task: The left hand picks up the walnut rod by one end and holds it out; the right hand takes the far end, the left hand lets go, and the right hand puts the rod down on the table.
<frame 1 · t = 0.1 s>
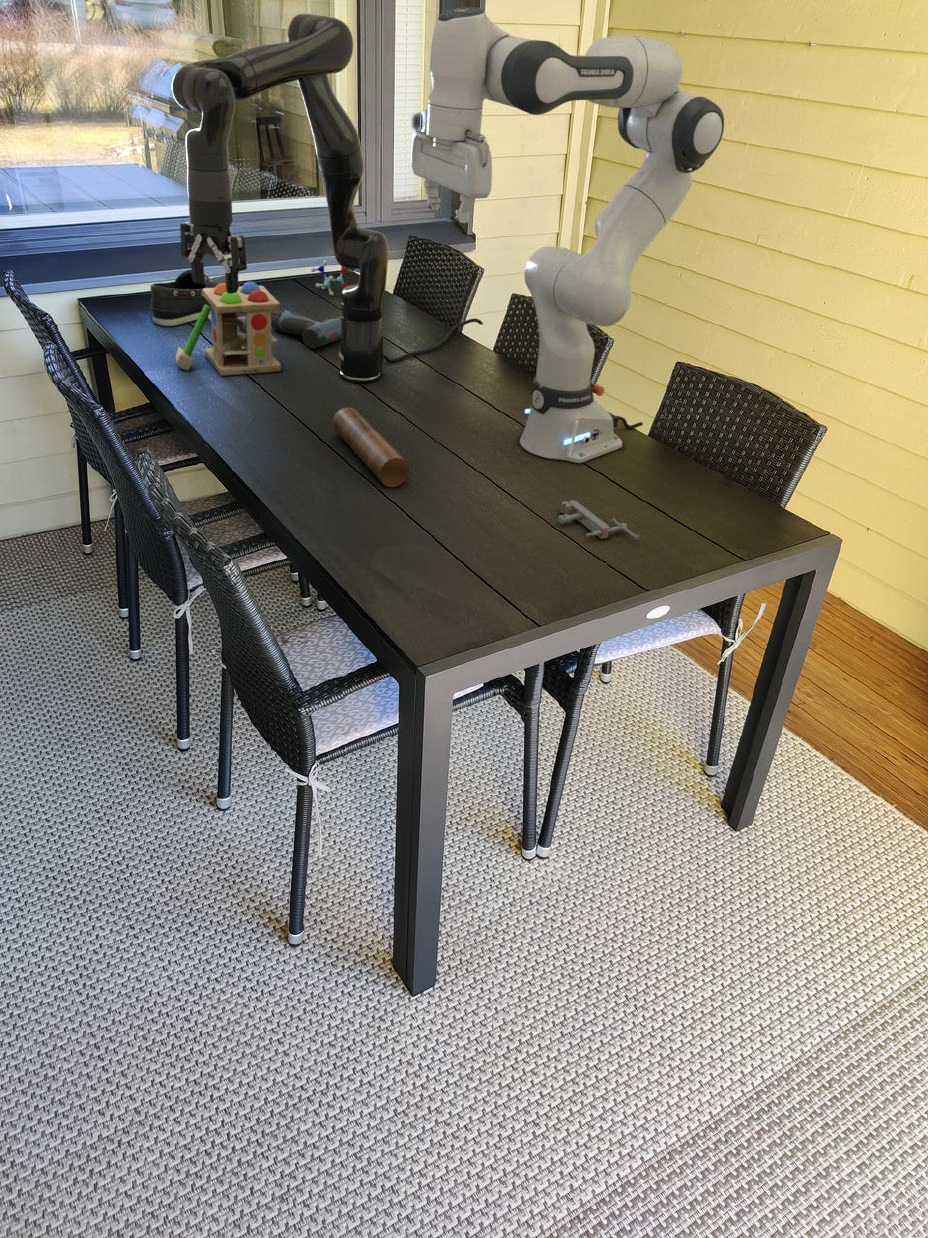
left hand: (215, 287, 183), 29 cm above the table, tool pointing down, fingers open, 8 cm apart
right hand: (447, 215, 166), 48 cm above the table, tool pointing down, fingers open, 8 cm apart
molecular model: (329, 291, 285), on the table
clamp: (591, 529, 178), on the table
boat shoe: (198, 310, 262), on the table
pounding bench toy: (225, 365, 230), on the table
rod: (368, 459, 195), on the table
power drill: (311, 334, 253), on the table
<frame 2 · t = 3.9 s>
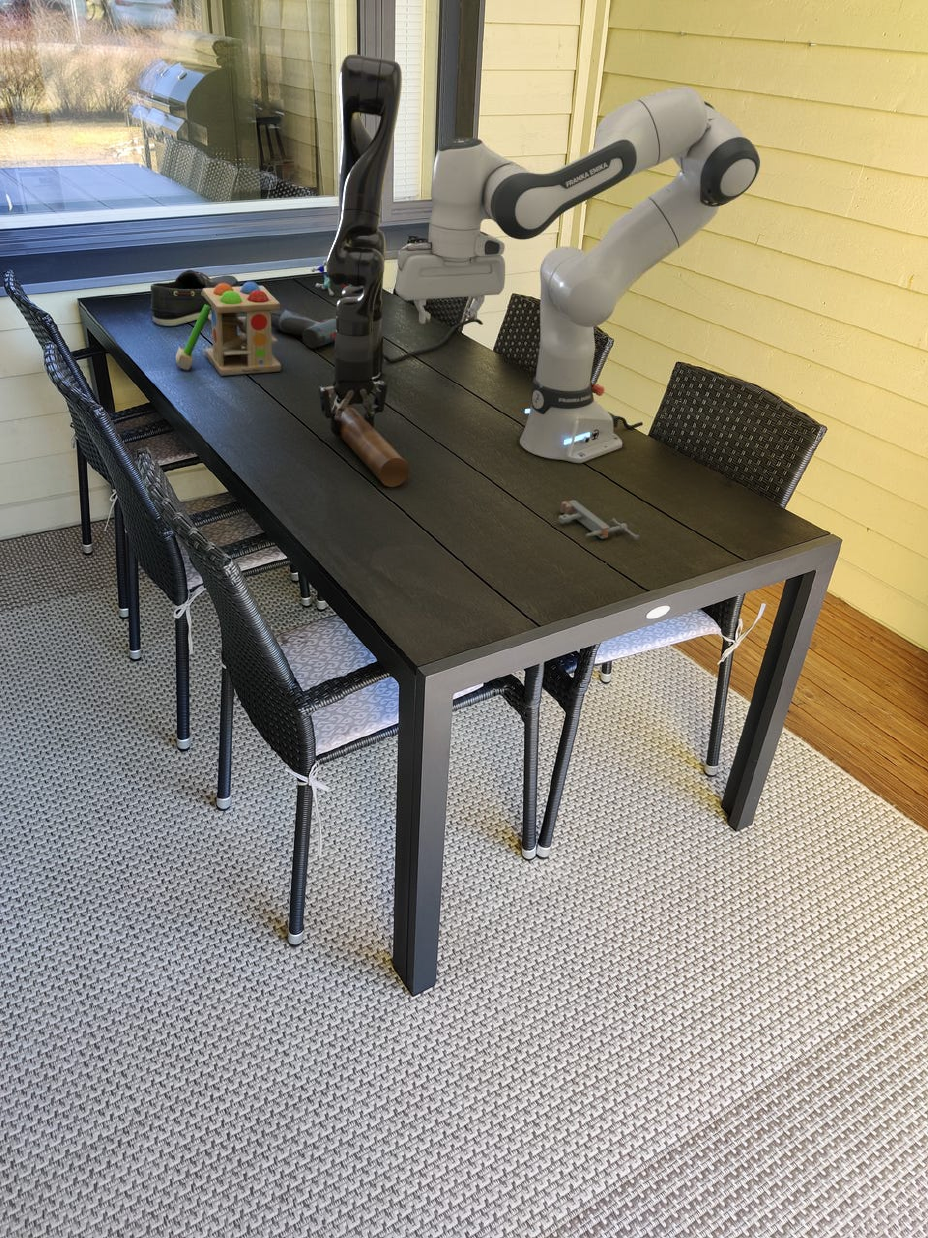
left hand: (352, 433, 200), 2 cm above the table, tool pointing down, fingers closed on rod, 6 cm apart
right hand: (447, 321, 177), 29 cm above the table, tool pointing down, fingers open, 8 cm apart
rod: (368, 459, 195), on the table, touching left hand
everything else where it was.
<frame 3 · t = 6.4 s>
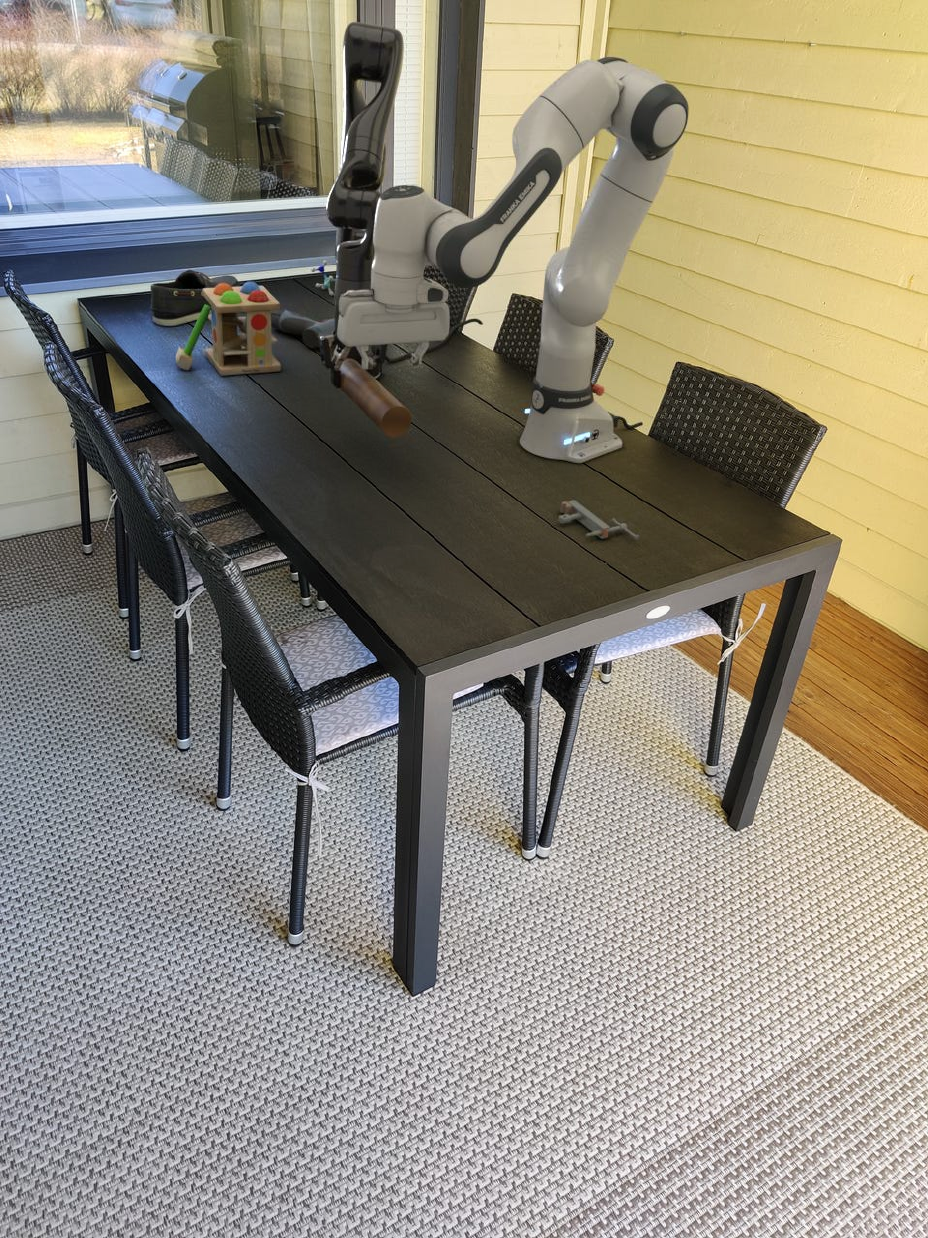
left hand: (352, 385, 195), 12 cm above the table, tool pointing down, fingers closed on rod, 6 cm apart
right hand: (391, 366, 176), 23 cm above the table, tool pointing down, fingers open, 8 cm apart
rod: (369, 411, 189), point 10 cm above the table, touching left hand
everything else where it was.
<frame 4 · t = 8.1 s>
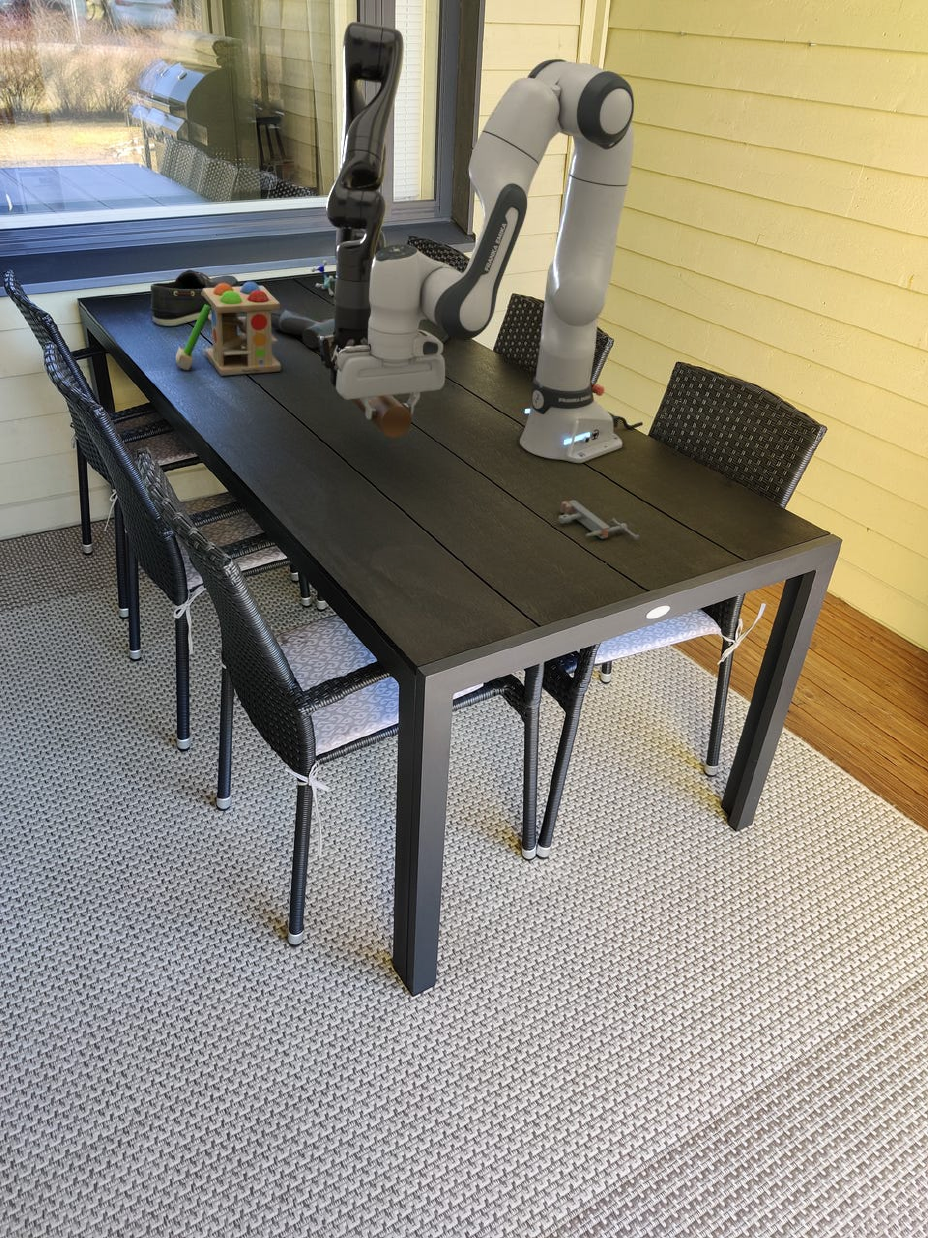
left hand: (352, 385, 195), 12 cm above the table, tool pointing down, fingers closed on rod, 6 cm apart
right hand: (389, 415, 181), 13 cm above the table, tool pointing down, fingers closed on rod, 6 cm apart
rod: (369, 411, 189), point 10 cm above the table, touching left hand, right hand
everything else where it was.
when the left hand's fingers open (12 cm above the table, at t = 9.4 s): rod moves 1 cm, held by the right hand.
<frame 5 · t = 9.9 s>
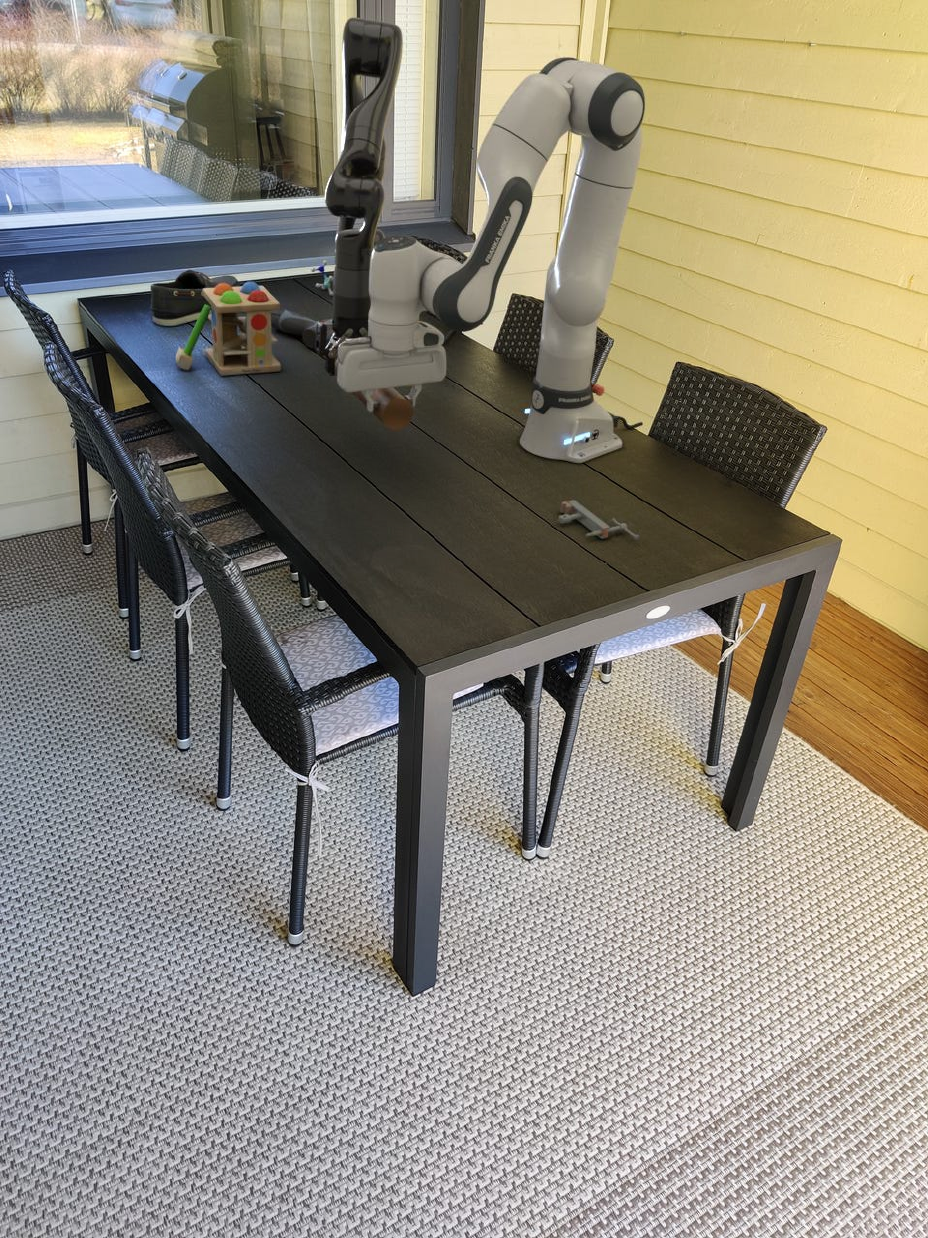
left hand: (351, 372, 194), 14 cm above the table, tool pointing down, fingers open, 8 cm apart
right hand: (391, 408, 180), 14 cm above the table, tool pointing down, fingers closed on rod, 6 cm apart
rod: (371, 404, 189), point 11 cm above the table, touching right hand
everything else where it was.
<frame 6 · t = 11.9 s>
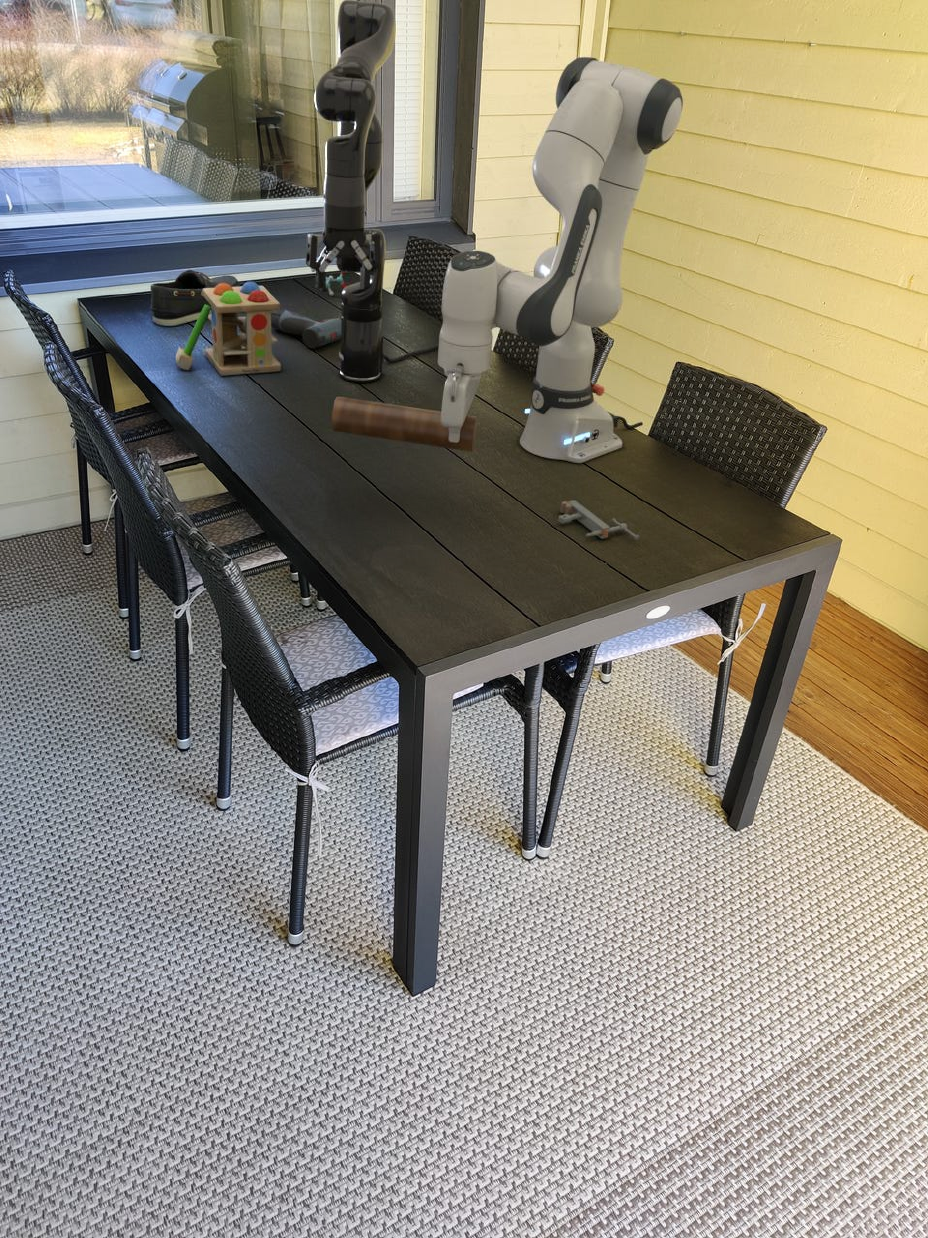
left hand: (343, 289, 189), 29 cm above the table, tool pointing down, fingers open, 8 cm apart
right hand: (457, 432, 171), 16 cm above the table, tool pointing down, fingers closed on rod, 6 cm apart
rod: (404, 440, 173), point 13 cm above the table, touching right hand
everything else where it was.
when the right hand's fingers open (4 cm above the table, at t = 13.7 s): rod stays where it is, on the table.
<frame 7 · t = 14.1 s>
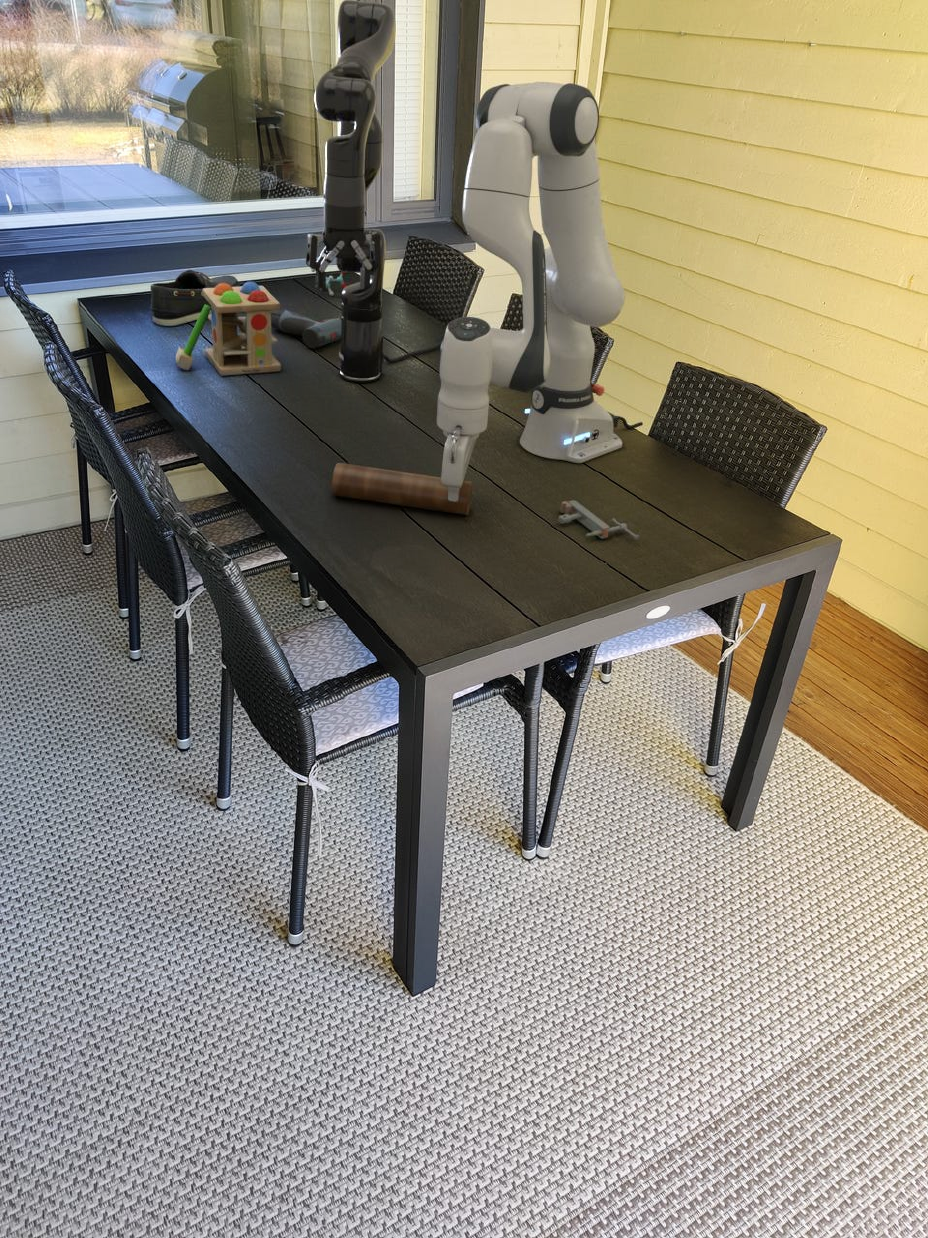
left hand: (343, 289, 189), 29 cm above the table, tool pointing down, fingers open, 8 cm apart
right hand: (457, 487, 177), 5 cm above the table, tool pointing down, fingers open, 8 cm apart
rod: (401, 503, 181), on the table
everything else where it was.
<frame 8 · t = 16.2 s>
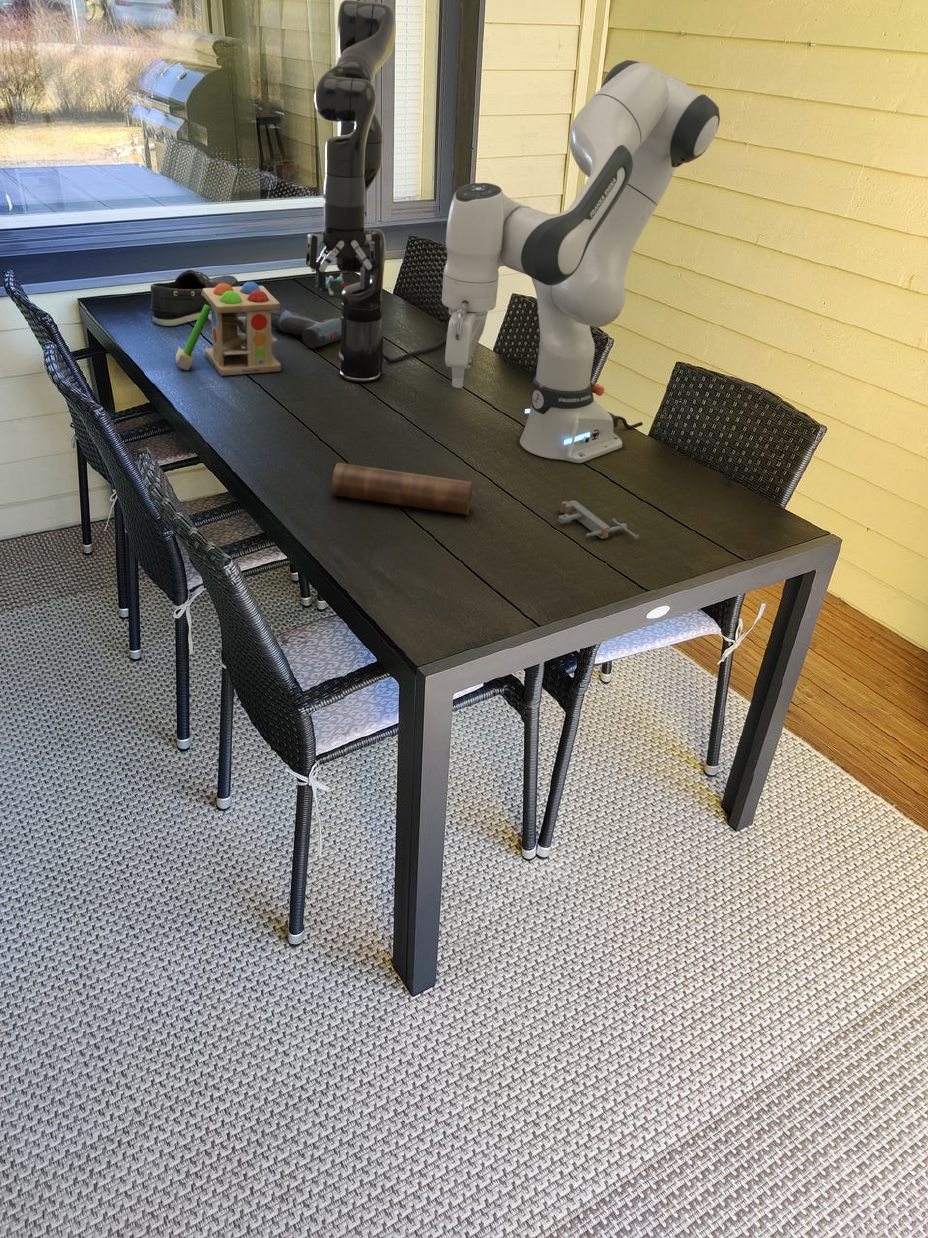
left hand: (343, 289, 189), 29 cm above the table, tool pointing down, fingers open, 8 cm apart
right hand: (462, 376, 165), 26 cm above the table, tool pointing down, fingers open, 8 cm apart
nothing on the table moved.
at the end: rod inside the target area (9.2 cm from its centre), on the table; the left hand is holding nothing; the right hand is holding nothing; rod at rest at the end (0.0 cm/s) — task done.
